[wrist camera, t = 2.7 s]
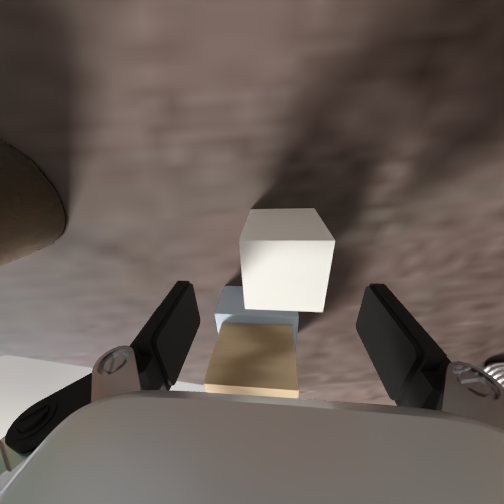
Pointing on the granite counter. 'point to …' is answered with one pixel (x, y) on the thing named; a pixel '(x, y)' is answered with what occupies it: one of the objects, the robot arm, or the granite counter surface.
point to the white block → (285, 260)
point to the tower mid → (253, 361)
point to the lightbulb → (496, 371)
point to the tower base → (250, 312)
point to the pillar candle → (26, 207)
